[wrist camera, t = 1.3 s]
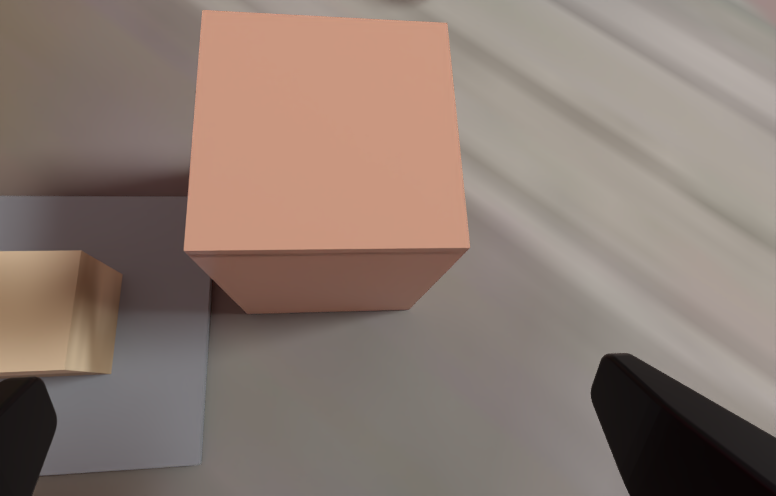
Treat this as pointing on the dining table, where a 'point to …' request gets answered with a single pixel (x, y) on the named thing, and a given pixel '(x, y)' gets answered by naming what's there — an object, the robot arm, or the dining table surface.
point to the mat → (127, 332)
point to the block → (57, 314)
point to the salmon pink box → (324, 162)
